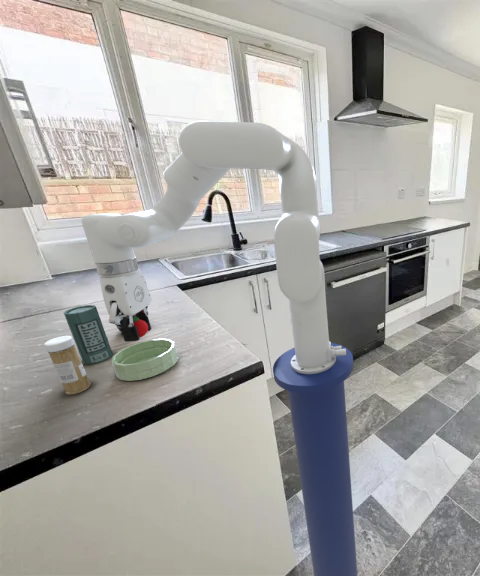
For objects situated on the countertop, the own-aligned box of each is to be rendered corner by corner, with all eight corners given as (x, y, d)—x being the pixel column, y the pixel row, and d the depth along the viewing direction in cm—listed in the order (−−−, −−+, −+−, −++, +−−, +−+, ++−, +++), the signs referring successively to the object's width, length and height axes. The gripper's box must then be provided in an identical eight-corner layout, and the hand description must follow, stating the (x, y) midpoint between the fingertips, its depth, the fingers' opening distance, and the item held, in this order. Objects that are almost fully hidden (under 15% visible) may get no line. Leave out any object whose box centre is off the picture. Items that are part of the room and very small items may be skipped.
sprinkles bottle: (96, 383, 76) (77, 334, 71) (78, 395, 72) (57, 344, 67) (78, 383, 76) (58, 335, 72) (59, 395, 72) (37, 344, 67)
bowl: (186, 352, 89) (182, 336, 88) (164, 379, 77) (159, 362, 76) (136, 356, 87) (131, 341, 86) (105, 385, 75) (98, 368, 73)
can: (108, 350, 91) (91, 303, 86) (115, 356, 88) (98, 308, 83) (80, 359, 86) (61, 310, 81) (87, 366, 83) (67, 316, 78)
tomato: (154, 332, 82) (149, 314, 80) (144, 340, 77) (138, 321, 76) (134, 333, 81) (128, 315, 79) (122, 342, 77) (116, 323, 75)
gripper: (112, 276, 66) (135, 351, 72) (154, 258, 82) (170, 320, 88) (72, 278, 65) (99, 354, 71) (122, 259, 80) (140, 322, 86)
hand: (138, 334), depth 79 cm, fingers closed on tomato, 4 cm apart
